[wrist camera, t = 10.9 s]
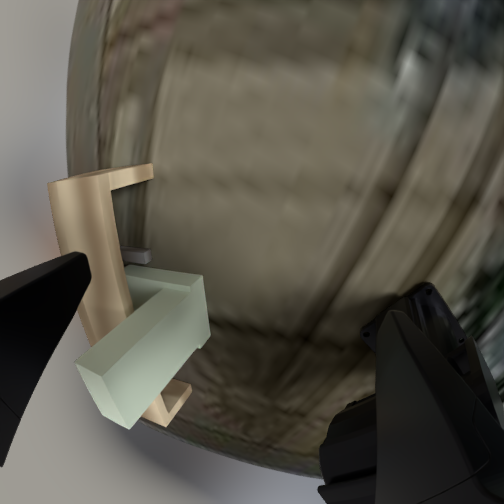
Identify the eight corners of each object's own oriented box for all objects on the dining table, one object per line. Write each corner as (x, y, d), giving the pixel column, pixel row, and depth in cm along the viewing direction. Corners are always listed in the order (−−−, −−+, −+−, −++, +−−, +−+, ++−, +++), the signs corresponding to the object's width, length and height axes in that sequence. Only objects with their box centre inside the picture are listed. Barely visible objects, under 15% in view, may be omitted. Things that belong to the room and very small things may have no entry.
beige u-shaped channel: (152, 163, 21) (97, 175, 16) (192, 391, 30) (166, 427, 25) (97, 170, 24) (47, 183, 18) (145, 374, 32) (118, 404, 27)
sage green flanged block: (202, 275, 23) (98, 369, 13) (210, 335, 26) (131, 434, 15) (129, 264, 26) (29, 329, 16) (141, 318, 28) (60, 390, 18)
